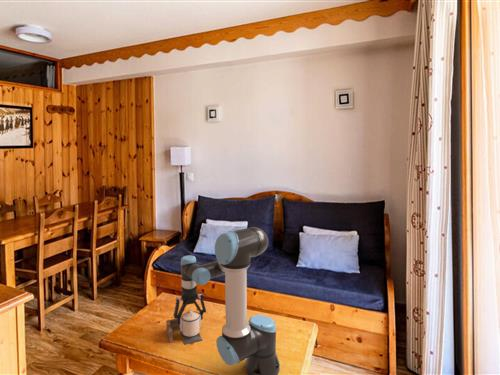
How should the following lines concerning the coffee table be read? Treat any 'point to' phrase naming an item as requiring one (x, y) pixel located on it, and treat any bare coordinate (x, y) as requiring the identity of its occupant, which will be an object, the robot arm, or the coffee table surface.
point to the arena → (173, 326)
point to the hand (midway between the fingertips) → (190, 327)
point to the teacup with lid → (190, 323)
